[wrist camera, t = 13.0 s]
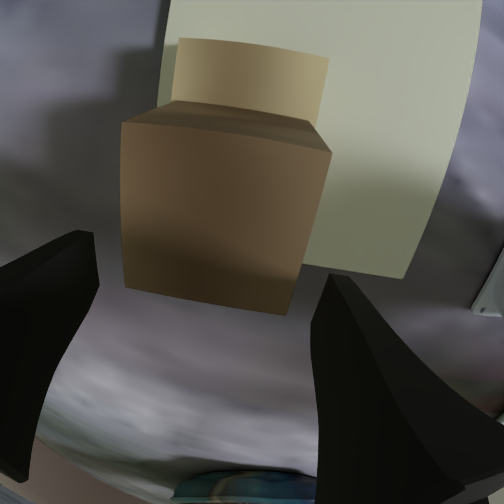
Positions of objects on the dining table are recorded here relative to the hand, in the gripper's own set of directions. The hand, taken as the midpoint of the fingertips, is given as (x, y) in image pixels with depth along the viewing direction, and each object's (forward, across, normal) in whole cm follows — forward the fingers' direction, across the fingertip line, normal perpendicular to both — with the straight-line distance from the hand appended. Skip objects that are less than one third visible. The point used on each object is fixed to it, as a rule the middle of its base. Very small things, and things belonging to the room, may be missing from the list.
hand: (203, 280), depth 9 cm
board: (+7, -3, -6) cm, 10 cm away
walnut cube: (+3, 0, -2) cm, 4 cm away
